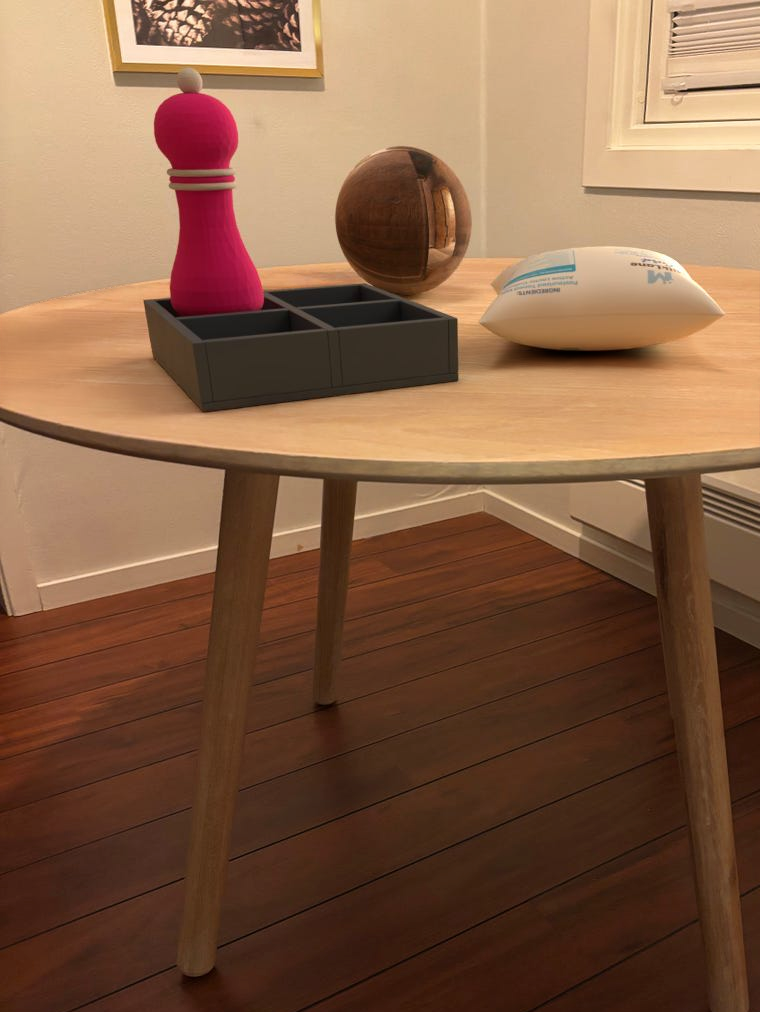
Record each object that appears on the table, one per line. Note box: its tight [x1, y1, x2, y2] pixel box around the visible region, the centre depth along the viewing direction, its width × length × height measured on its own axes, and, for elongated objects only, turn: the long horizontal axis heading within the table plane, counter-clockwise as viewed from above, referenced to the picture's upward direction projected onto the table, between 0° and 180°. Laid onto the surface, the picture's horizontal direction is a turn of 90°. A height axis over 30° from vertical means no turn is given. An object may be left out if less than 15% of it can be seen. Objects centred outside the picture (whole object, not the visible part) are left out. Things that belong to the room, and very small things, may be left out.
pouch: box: [477, 245, 726, 352], centre depth 82 cm, size 8×19×20 cm
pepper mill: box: [153, 67, 264, 317], centre depth 73 cm, size 7×7×20 cm
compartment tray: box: [143, 282, 460, 413], centre depth 75 cm, size 19×19×5 cm
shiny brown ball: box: [334, 145, 473, 296], centre depth 104 cm, size 15×15×15 cm
